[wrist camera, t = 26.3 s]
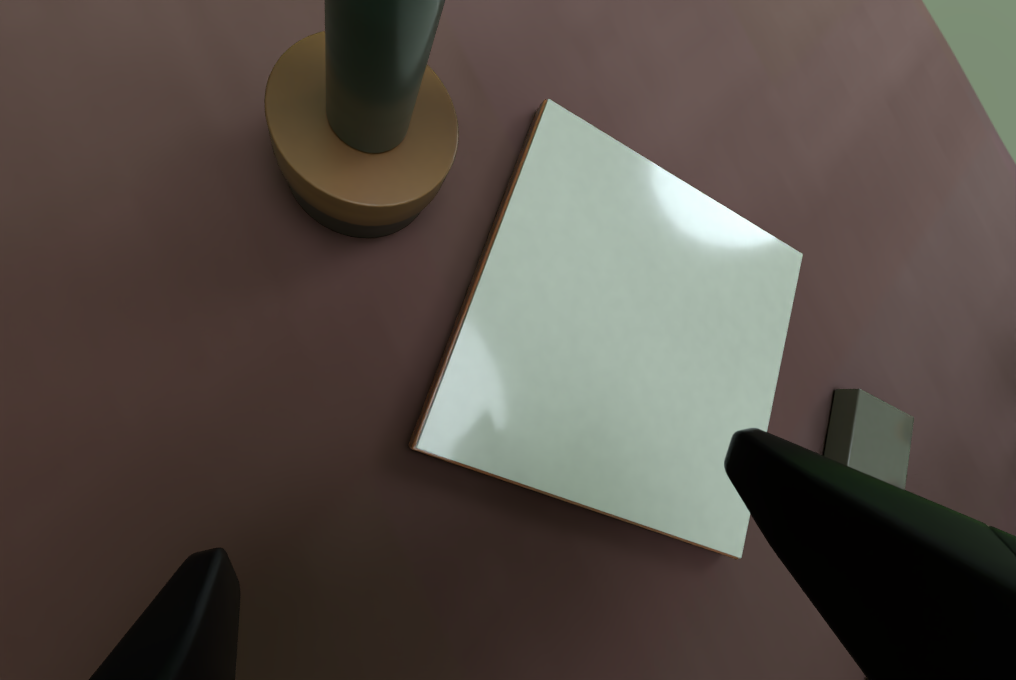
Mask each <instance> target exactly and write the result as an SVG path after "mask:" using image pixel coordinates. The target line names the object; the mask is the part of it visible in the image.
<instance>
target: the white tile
mask: <svg viewBox="0 0 1016 680" xmlns="http://www.w3.org/2000/svg"><path fill="white" fill-rule="evenodd" d="M802 255H803V254H801V253H800V252H798V251H797V250H795V249H793V248H792V247H790V246H788V245H787V244H785V243H783V242H782V241H780V240H779V239H777V238H775V237H774V236H772V235H770V234H769V233H767V232H766V231H764V230H762V229H761V228H759V227H757V226H756V225H754V224H752V223H751V222H749V221H748V220H746V219H744V218H743V217H741V216H739V215H738V214H736V213H734V212H733V211H731V210H730V209H728V208H726V207H725V206H723V205H721V204H720V203H718V202H717V201H715V200H713V199H712V198H710V197H708V196H707V195H705V194H703V193H702V192H700V191H699V190H697V189H695V188H694V187H692V186H690V185H689V184H687V183H685V182H684V181H682V180H681V179H679V178H677V177H676V176H674V175H672V174H671V173H669V172H668V171H666V170H664V169H663V168H661V167H659V166H658V165H656V164H654V163H653V162H651V161H650V160H648V159H646V158H645V157H643V156H641V155H640V154H638V153H636V152H635V151H633V150H632V149H630V148H628V147H627V146H625V145H623V144H622V143H620V142H618V141H617V140H615V139H614V138H612V137H610V136H609V135H607V134H605V133H604V132H602V131H601V130H599V129H597V128H596V127H594V126H592V125H591V124H589V123H587V122H586V121H584V120H583V119H581V118H579V117H578V116H576V115H574V114H573V113H571V112H569V111H568V110H566V109H565V108H563V107H561V106H560V105H558V104H556V103H555V102H553V101H552V100H550V99H548V100H546V99H545V100H544V101H543V102H542V103H541V105H540V106H539V108H538V109H537V111H536V113H535V116H534V119H533V121H532V124H531V126H530V129H529V132H528V134H527V137H526V139H525V142H524V145H523V147H522V150H521V153H520V155H519V158H518V160H517V163H516V166H515V168H514V171H513V173H512V176H511V179H510V181H509V184H508V186H507V189H506V192H505V194H504V197H503V199H502V202H501V205H500V207H499V210H498V213H497V215H496V218H495V220H494V223H493V226H492V228H491V231H490V233H489V236H488V239H487V241H486V244H485V246H484V249H483V252H482V254H481V257H480V259H479V262H478V265H477V267H476V270H475V273H474V275H473V278H472V280H471V283H470V286H469V288H468V291H467V293H466V296H465V299H464V301H463V304H462V306H461V309H460V312H459V314H458V317H457V319H456V322H455V325H454V327H453V330H452V332H451V335H450V338H449V340H448V343H447V346H446V348H445V351H444V353H443V356H442V359H441V361H440V364H439V366H438V369H437V372H436V374H435V377H434V379H433V382H432V385H431V387H430V390H429V392H428V395H427V398H426V400H425V403H424V406H423V408H422V411H421V413H420V416H419V419H418V421H417V424H416V426H415V429H414V432H413V434H412V437H411V439H410V442H409V445H408V447H409V448H410V449H412V450H415V451H417V452H420V453H423V454H426V455H429V456H432V457H435V458H438V459H441V460H444V461H447V462H450V463H453V464H456V465H459V466H462V467H465V468H468V469H471V470H474V471H477V472H480V473H483V474H486V475H488V476H491V477H494V478H497V479H500V480H503V481H506V482H509V483H512V484H515V485H518V486H521V487H524V488H527V489H530V490H533V491H536V492H539V493H542V494H545V495H548V496H551V497H554V498H556V499H559V500H562V501H565V502H568V503H571V504H574V505H577V506H580V507H583V508H586V509H589V510H592V511H595V512H598V513H601V514H604V515H607V516H610V517H613V518H616V519H619V520H622V521H624V522H627V523H630V524H633V525H636V526H639V527H642V528H645V529H648V530H651V531H654V532H657V533H660V534H663V535H666V536H669V537H672V538H675V539H678V540H681V541H684V542H687V543H690V544H692V545H695V546H698V547H701V548H704V549H707V550H710V551H713V552H716V553H719V554H722V555H725V556H728V557H731V558H734V559H738V558H741V557H742V552H743V547H744V542H745V537H746V532H747V527H748V522H749V517H750V512H749V510H748V509H747V507H746V506H745V504H744V502H743V501H742V499H741V497H740V496H739V494H738V492H737V491H736V489H735V487H734V486H733V484H732V482H731V481H730V479H729V478H728V476H727V474H726V472H725V469H724V460H725V456H726V453H727V450H728V447H729V444H730V441H731V438H732V435H733V434H734V433H735V432H736V431H739V430H743V429H747V428H758V429H761V430H763V431H765V432H767V428H768V423H769V419H770V414H771V409H772V404H773V399H774V394H775V389H776V384H777V379H778V374H779V369H780V364H781V359H782V354H783V349H784V344H785V339H786V335H787V330H788V325H789V320H790V315H791V310H792V305H793V300H794V295H795V290H796V285H797V280H798V275H799V270H800V265H801V260H802Z"/></svg>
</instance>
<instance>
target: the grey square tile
mask: <svg viewBox="0 0 1016 680" xmlns="http://www.w3.org/2000/svg"><path fill="white" fill-rule="evenodd" d="M913 422H914V417H912V416H910V415H908V414H907V413H905V412H903V411H901V410H899V409H897V408H895V407H893V406H891V405H889V404H888V403H886V402H884V401H882V400H880V399H878V398H876V397H874V396H872V395H870V394H869V393H867V392H865V391H863V390H861V389H836V390H835V393H834V399H833V405H832V411H831V417H830V422H829V428H828V434H827V440H826V446H825V451H824V456H825V457H827V458H830V459H832V460H835V461H837V462H839V463H842V464H844V465H846V466H849V467H851V468H854V469H856V470H858V471H861V472H863V473H866V474H868V475H870V476H873V477H875V478H878V479H880V480H882V481H885V482H887V483H889V484H892V485H894V486H897V487H899V488H901V489H904V490H905V484H906V476H907V469H908V461H909V453H910V445H911V438H912V430H913Z"/></svg>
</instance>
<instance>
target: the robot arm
mask: <svg viewBox="0 0 1016 680" xmlns="http://www.w3.org/2000/svg"><path fill="white" fill-rule="evenodd" d="M724 469H725V472H726V474H727V476H728V478H729V479H730V481H731V482H732V484H733V486H734V487H735V489H736V491H737V492H738V494H739V496H740V497H741V499H742V501H743V502H744V504H745V506H746V507H747V509H748V510H749V512H750V514H751V515H752V517H753V519H754V520H755V522H756V524H757V525H758V527H759V529H760V530H761V532H762V533H763V535H764V537H765V538H766V540H767V541H768V543H769V544H770V546H771V547H772V549H773V550H774V551H775V553H776V554H777V556H778V557H779V558H780V560H781V561H782V563H783V564H784V565H785V567H786V568H787V569H788V571H789V572H790V573H791V575H792V576H793V578H794V579H795V580H796V582H797V583H798V584H799V586H800V587H801V588H802V590H803V591H804V593H805V594H806V595H807V597H808V598H809V599H810V601H811V602H812V603H813V605H814V606H815V608H816V609H817V610H818V612H819V613H820V614H821V616H822V617H823V618H824V620H825V621H826V622H827V624H828V625H829V627H830V628H831V629H832V631H833V632H834V633H835V635H836V636H837V637H838V639H839V640H840V642H841V643H842V644H843V646H844V647H845V648H846V650H847V651H848V652H849V654H850V655H851V657H852V658H853V659H854V661H855V662H856V663H857V665H858V666H859V667H860V669H861V670H862V672H863V673H864V674H865V676H866V677H867V678H868V680H1016V536H1014V535H1011V534H1009V533H1007V532H1004V531H1002V530H1000V529H997V528H995V527H992V526H989V527H988V526H987V525H986V524H985V523H983V522H980V521H978V520H975V519H973V518H971V517H968V516H966V515H964V514H961V513H959V512H956V511H954V510H952V509H949V508H947V507H944V506H942V505H940V504H937V503H935V502H932V501H930V500H928V499H925V498H923V497H921V496H918V495H916V494H913V493H911V492H909V491H906V490H904V489H901V488H899V487H897V486H894V485H892V484H889V483H887V482H885V481H882V480H880V479H878V478H875V477H873V476H870V475H868V474H866V473H863V472H861V471H858V470H856V469H854V468H851V467H849V466H846V465H844V464H842V463H839V462H837V461H835V460H832V459H830V458H827V457H825V456H823V455H820V454H818V453H815V452H813V451H811V450H808V449H806V448H804V447H801V446H799V445H796V444H794V443H792V442H789V441H787V440H784V439H782V438H780V437H777V436H775V435H773V434H770V433H768V432H765V431H763V430H761V429H758V428H747V429H743V430H739V431H736V432H735V433H734V434H733V435H732V438H731V441H730V444H729V447H728V450H727V453H726V456H725V460H724ZM239 611H240V584H239V581H238V578H237V576H236V573H235V571H234V568H233V566H232V564H231V561H230V559H229V557H228V554H227V552H226V551H225V550H224V549H223V548H213V549H209V550H205V551H200V552H196V553H193V554H192V555H190V556H189V557H188V558H187V559H186V560H185V561H184V562H183V563H182V565H181V566H180V567H179V568H178V570H177V571H176V572H175V573H174V575H173V576H172V577H171V578H170V580H169V581H168V582H167V583H166V585H165V586H164V587H163V588H162V590H161V591H160V592H159V593H158V594H157V596H156V597H155V598H154V599H153V601H152V602H151V603H150V604H149V606H148V607H147V608H146V609H145V611H144V612H143V613H142V614H141V616H140V617H139V618H138V619H137V621H136V622H135V623H134V624H133V626H132V627H131V628H130V629H129V630H128V632H127V633H126V634H125V635H124V637H123V638H122V639H121V640H120V642H119V643H118V644H117V645H116V647H115V648H114V649H113V650H112V652H111V653H110V654H109V655H108V657H107V658H106V659H105V660H104V662H103V663H102V664H101V665H100V666H99V668H98V669H97V670H96V671H95V673H94V674H93V675H92V676H91V678H90V679H89V680H235V674H236V659H237V643H238V627H239Z"/></svg>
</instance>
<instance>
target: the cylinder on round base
mask: <svg viewBox="0 0 1016 680" xmlns="http://www.w3.org/2000/svg"><path fill="white" fill-rule="evenodd" d="M444 3H445V0H325V31H323V32H319V33H316V34H313V35H310V36H308V37H306V38H304V39H302V40H300V41H298V42H297V43H295V44H294V45H293V46H291V47H290V48H289V49H288V50H287V51H286V52H285V53H284V54H283V55H282V56H281V57H280V58H279V60H278V61H277V63H276V64H275V65H274V67H273V69H272V71H271V74H270V76H269V78H268V82H267V85H266V90H265V99H264V103H265V115H266V120H267V125H268V130H269V134H270V139H271V143H272V148H273V152H274V155H275V158H276V161H277V164H278V166H279V168H280V170H281V172H282V173H283V175H284V177H285V178H286V180H287V182H288V185H289V187H290V189H291V191H292V193H293V195H294V197H295V198H296V200H297V201H298V203H299V204H300V205H301V207H302V208H303V209H304V210H305V211H306V212H307V213H308V214H309V215H310V216H311V217H312V218H313V219H315V220H316V221H318V222H319V223H320V224H322V225H324V226H325V227H327V228H329V229H331V230H333V231H336V232H338V233H341V234H345V235H348V236H353V237H360V238H373V237H381V236H385V235H389V234H392V233H395V232H397V231H399V230H401V229H403V228H404V227H406V226H407V225H408V224H410V223H411V222H412V221H413V220H414V219H415V218H416V217H417V216H418V215H419V213H420V212H421V211H422V210H423V209H424V208H425V207H426V206H427V205H428V204H429V203H430V202H431V201H432V200H433V198H434V197H435V196H436V194H437V193H438V191H439V189H440V187H441V185H442V183H443V181H444V180H445V178H446V176H447V174H448V172H449V170H450V168H451V166H452V164H453V162H454V159H455V156H456V152H457V147H458V136H459V131H458V121H457V116H456V112H455V109H454V106H453V103H452V100H451V98H450V96H449V94H448V92H447V90H446V88H445V86H444V85H443V83H442V82H441V80H440V79H439V77H438V76H437V75H436V74H435V72H434V71H433V70H432V69H431V68H430V67H429V66H428V65H427V62H428V58H429V55H430V51H431V48H432V44H433V41H434V37H435V34H436V30H437V27H438V24H439V20H440V17H441V13H442V10H443V6H444Z"/></svg>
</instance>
